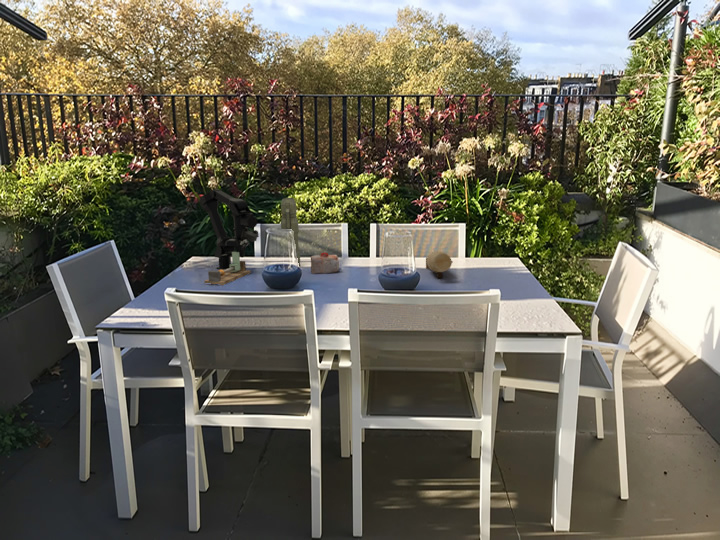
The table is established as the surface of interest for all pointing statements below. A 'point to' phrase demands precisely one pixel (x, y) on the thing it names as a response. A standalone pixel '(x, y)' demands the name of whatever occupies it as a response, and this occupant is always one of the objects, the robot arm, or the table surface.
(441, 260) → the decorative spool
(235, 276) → the linear slide rail
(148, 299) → the table surface
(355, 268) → the table surface
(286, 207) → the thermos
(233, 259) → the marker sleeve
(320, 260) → the food item
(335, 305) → the table surface
